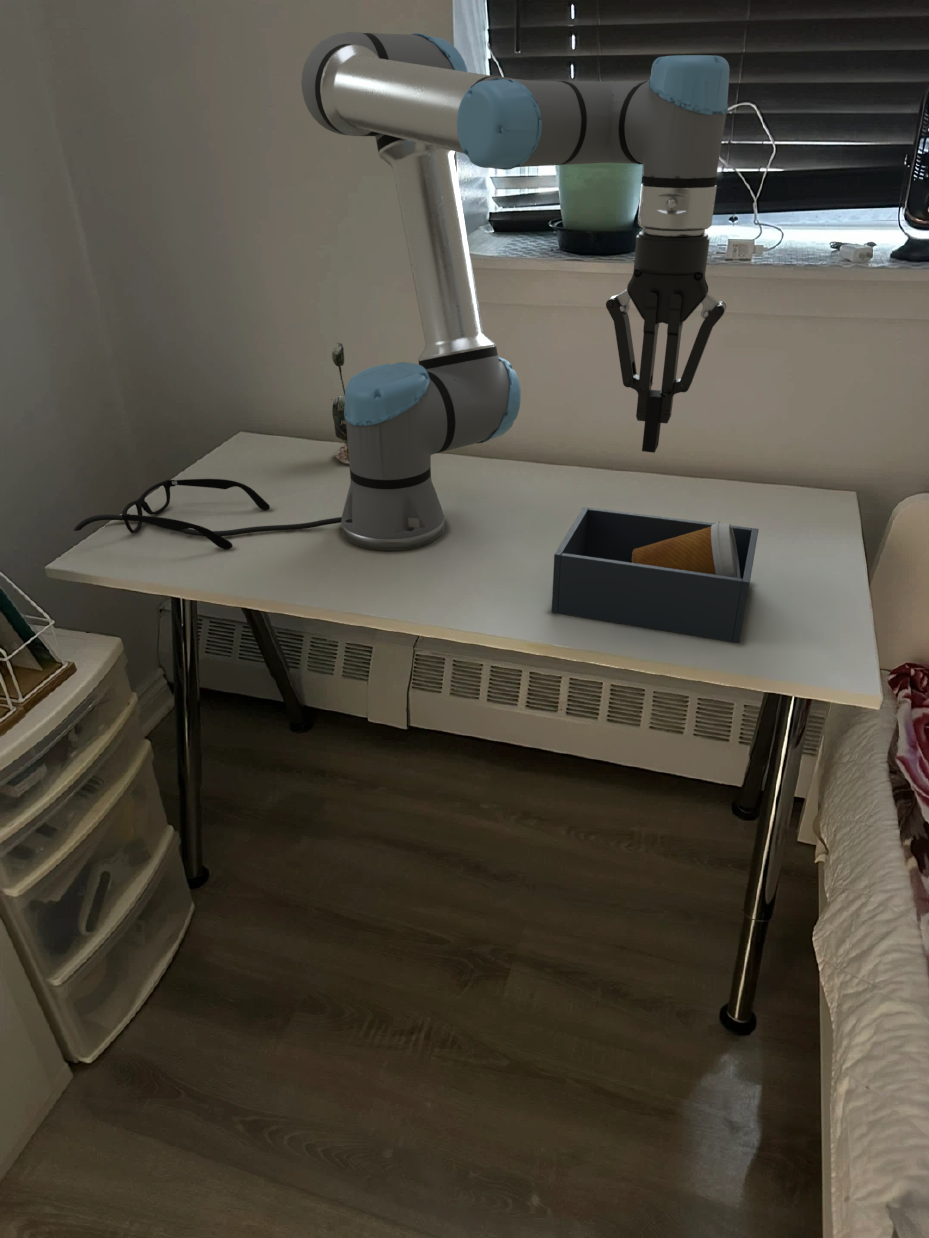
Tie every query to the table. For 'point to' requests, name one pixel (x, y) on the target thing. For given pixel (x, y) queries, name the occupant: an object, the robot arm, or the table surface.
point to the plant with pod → (340, 408)
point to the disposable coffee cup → (695, 552)
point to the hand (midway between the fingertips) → (650, 448)
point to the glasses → (182, 525)
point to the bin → (647, 577)
